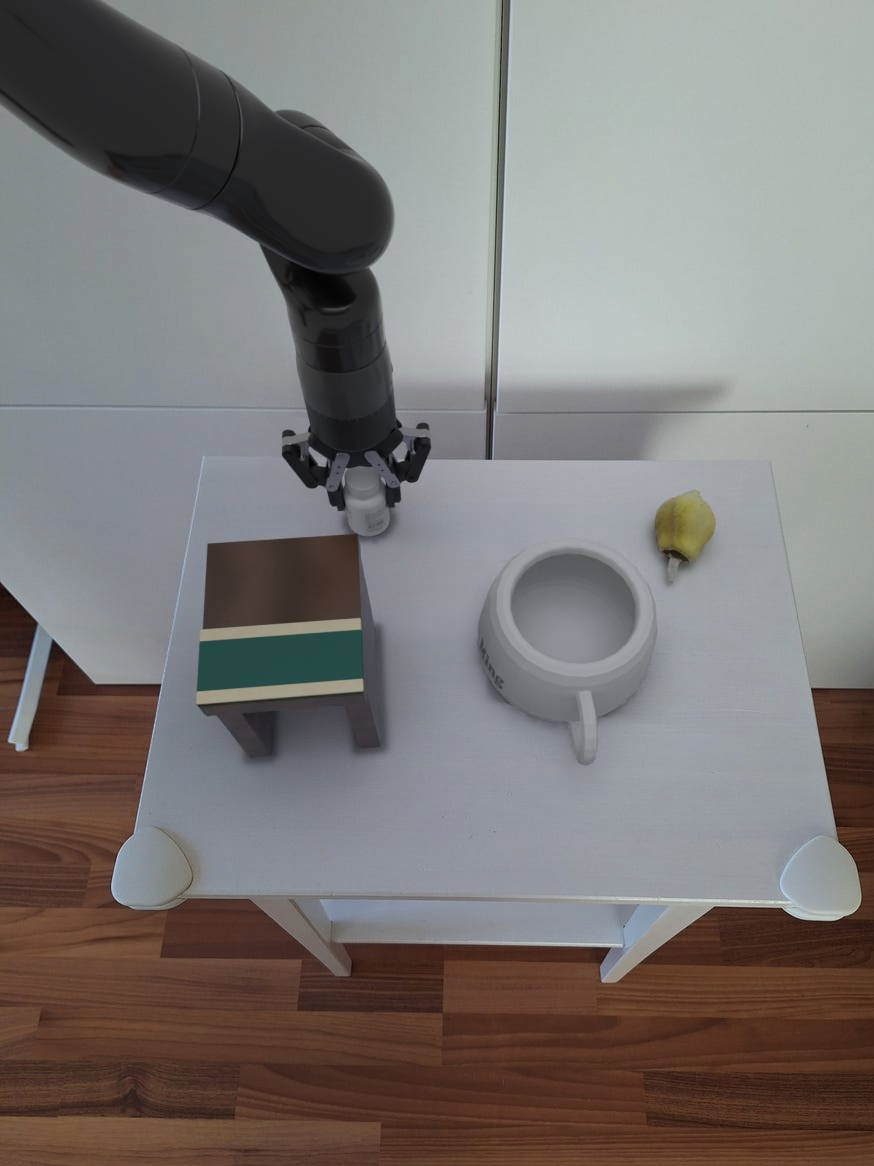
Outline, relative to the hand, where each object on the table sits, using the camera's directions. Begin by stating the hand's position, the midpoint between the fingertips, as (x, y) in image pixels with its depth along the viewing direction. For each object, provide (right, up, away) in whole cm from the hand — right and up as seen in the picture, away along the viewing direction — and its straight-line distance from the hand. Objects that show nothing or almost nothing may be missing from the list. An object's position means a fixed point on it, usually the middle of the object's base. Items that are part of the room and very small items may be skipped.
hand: (366, 501), depth 81 cm
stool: (-4, -19, -5) cm, 20 cm away
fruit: (+32, -4, +3) cm, 33 cm away
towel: (-3, -16, -22) cm, 27 cm away
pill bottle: (0, -1, +3) cm, 4 cm away
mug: (+20, -17, -3) cm, 26 cm away
